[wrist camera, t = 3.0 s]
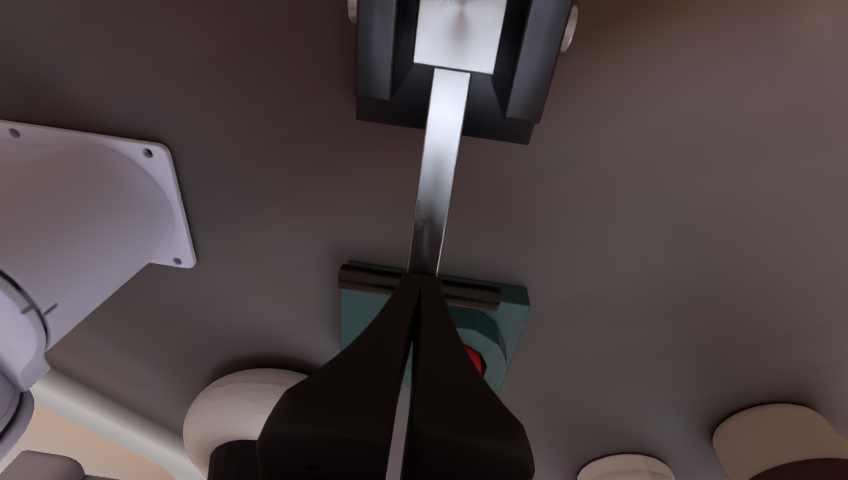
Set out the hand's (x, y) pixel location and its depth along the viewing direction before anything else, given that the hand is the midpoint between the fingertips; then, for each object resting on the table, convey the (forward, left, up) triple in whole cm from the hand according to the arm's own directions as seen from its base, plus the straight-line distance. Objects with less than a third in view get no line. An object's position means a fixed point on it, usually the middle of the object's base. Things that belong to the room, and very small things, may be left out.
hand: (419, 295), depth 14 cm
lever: (0, +5, -2) cm, 5 cm away
